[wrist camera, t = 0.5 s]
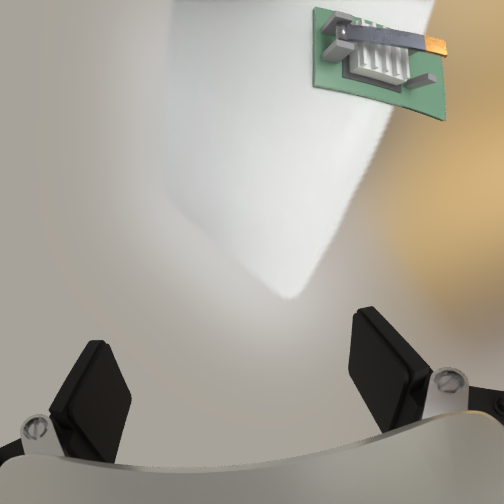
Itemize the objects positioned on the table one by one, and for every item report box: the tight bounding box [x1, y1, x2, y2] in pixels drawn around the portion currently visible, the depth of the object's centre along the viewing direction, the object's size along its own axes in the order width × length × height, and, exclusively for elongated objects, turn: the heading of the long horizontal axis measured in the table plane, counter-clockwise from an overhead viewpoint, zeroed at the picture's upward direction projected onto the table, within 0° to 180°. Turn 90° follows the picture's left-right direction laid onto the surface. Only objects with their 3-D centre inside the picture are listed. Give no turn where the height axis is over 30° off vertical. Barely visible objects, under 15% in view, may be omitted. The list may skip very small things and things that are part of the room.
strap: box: [335, 21, 447, 58], centre depth 25 cm, size 3×15×2 cm, turn 87°
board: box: [313, 7, 446, 121], centre depth 30 cm, size 14×24×8 cm, turn 87°
